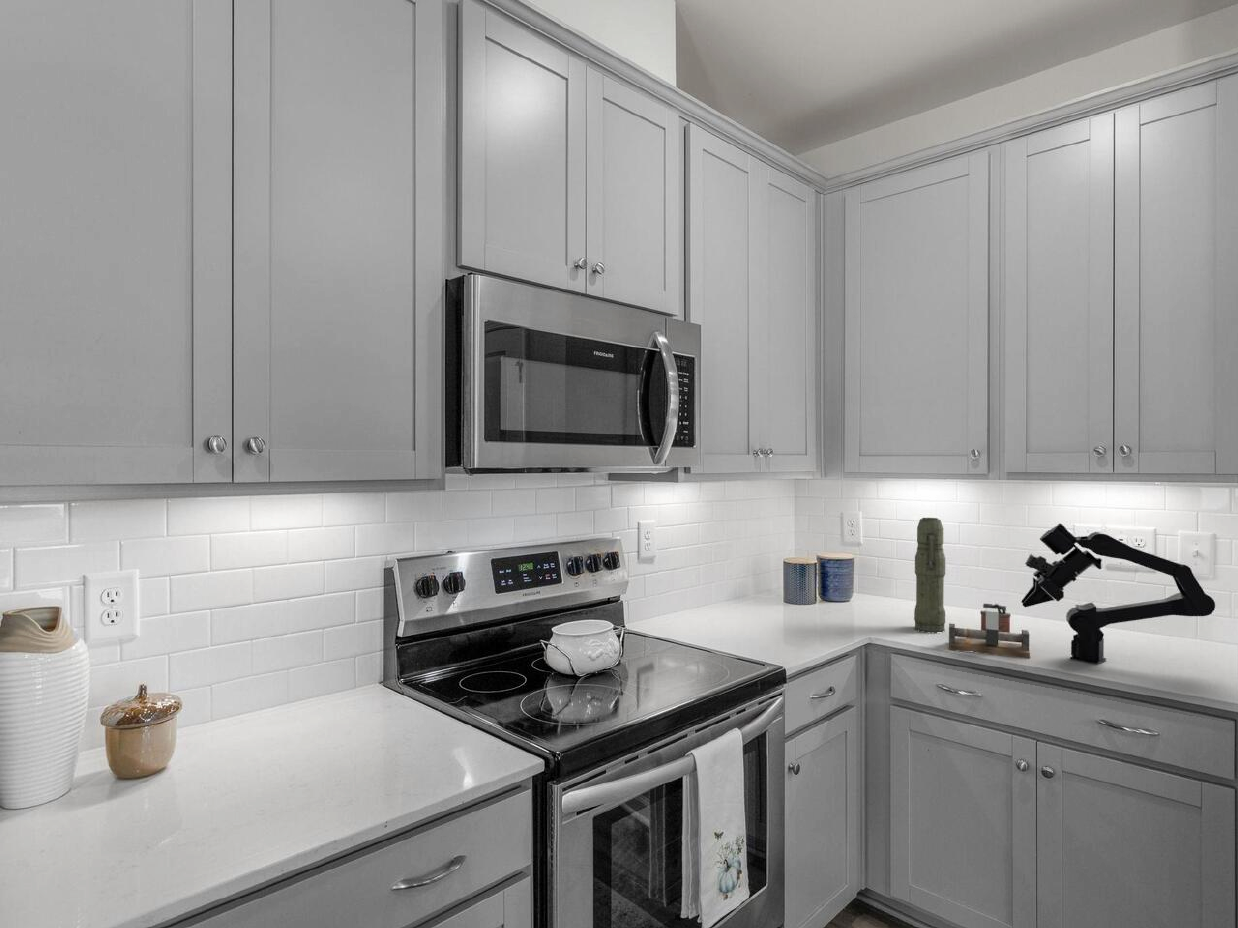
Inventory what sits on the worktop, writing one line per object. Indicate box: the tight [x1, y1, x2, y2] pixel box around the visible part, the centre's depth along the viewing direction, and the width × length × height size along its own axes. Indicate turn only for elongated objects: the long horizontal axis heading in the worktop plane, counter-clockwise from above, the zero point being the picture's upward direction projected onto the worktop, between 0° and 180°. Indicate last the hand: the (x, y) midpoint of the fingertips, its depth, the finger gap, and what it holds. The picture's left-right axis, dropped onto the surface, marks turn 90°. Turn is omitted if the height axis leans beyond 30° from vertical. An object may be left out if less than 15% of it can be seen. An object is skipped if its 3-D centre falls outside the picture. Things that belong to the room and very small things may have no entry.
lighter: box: [980, 603, 1011, 633], centre depth 220 cm, size 8×3×10 cm, turn 59°
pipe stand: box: [948, 622, 1031, 659], centre depth 206 cm, size 20×9×6 cm, turn 65°
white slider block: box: [985, 608, 999, 646], centre depth 206 cm, size 3×5×9 cm, turn 155°
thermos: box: [913, 517, 946, 634], centre depth 230 cm, size 9×12×35 cm
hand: (1023, 604), depth 202 cm, fingers open, 4 cm apart
